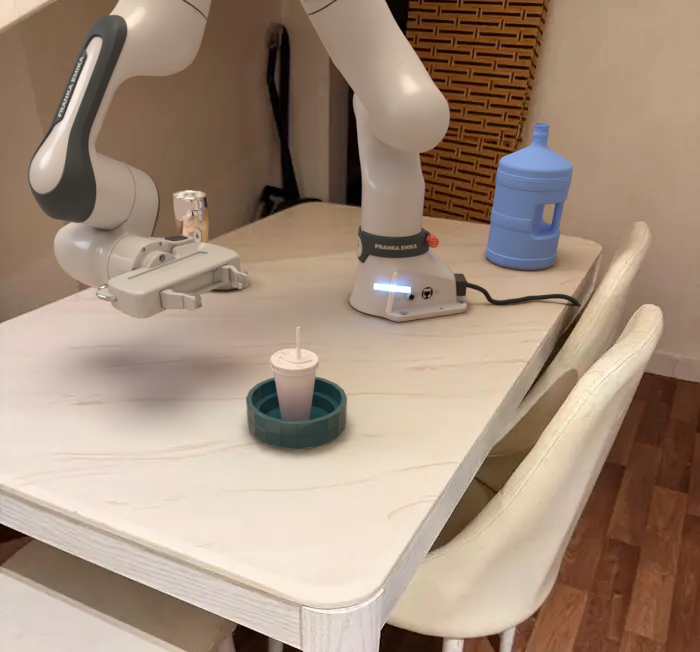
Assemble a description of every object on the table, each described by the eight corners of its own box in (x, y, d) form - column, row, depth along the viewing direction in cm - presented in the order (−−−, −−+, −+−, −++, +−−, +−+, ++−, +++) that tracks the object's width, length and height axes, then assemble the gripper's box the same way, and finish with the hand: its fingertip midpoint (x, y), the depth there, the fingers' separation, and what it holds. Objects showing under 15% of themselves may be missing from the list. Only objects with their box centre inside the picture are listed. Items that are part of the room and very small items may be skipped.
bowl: (335, 398, 103) (335, 371, 100) (355, 447, 92) (356, 418, 90) (243, 406, 100) (242, 378, 98) (253, 457, 90) (252, 427, 87)
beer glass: (181, 262, 150) (173, 189, 142) (214, 262, 151) (208, 190, 142) (177, 273, 145) (169, 198, 136) (211, 273, 145) (205, 198, 137)
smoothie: (312, 437, 93) (312, 340, 85) (266, 431, 94) (261, 334, 86) (323, 413, 98) (324, 320, 90) (279, 408, 99) (276, 314, 91)
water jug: (477, 264, 155) (496, 126, 139) (493, 245, 167) (512, 116, 151) (548, 276, 150) (576, 134, 134) (559, 255, 162) (586, 122, 146)
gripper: (83, 269, 89) (162, 292, 83) (194, 231, 103) (268, 249, 98) (92, 316, 93) (169, 341, 87) (198, 273, 107) (270, 292, 101)
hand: (222, 292), depth 92 cm, fingers open, 8 cm apart
